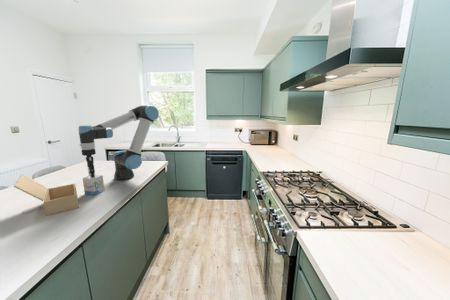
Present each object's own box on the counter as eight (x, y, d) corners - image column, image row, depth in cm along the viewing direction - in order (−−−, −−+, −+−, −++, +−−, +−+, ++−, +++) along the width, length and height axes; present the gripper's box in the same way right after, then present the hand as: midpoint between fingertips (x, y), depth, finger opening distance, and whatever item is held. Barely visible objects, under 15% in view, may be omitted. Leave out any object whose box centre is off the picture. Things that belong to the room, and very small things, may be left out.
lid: (22, 174, 111) (21, 175, 111) (14, 185, 95) (13, 186, 94) (46, 187, 119) (45, 188, 119) (43, 200, 102) (42, 201, 102)
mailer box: (77, 194, 130) (75, 183, 128) (78, 207, 113) (76, 194, 111) (49, 200, 121) (46, 188, 120) (46, 215, 104) (43, 202, 102)
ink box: (94, 195, 129) (92, 179, 126) (84, 194, 130) (81, 178, 128) (105, 190, 137) (102, 174, 134) (95, 189, 138) (92, 174, 136)
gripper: (80, 146, 134) (84, 175, 138) (82, 152, 115) (87, 185, 119) (93, 145, 139) (96, 173, 143) (97, 151, 120) (101, 183, 124)
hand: (92, 179), depth 131 cm, fingers open, 13 cm apart
